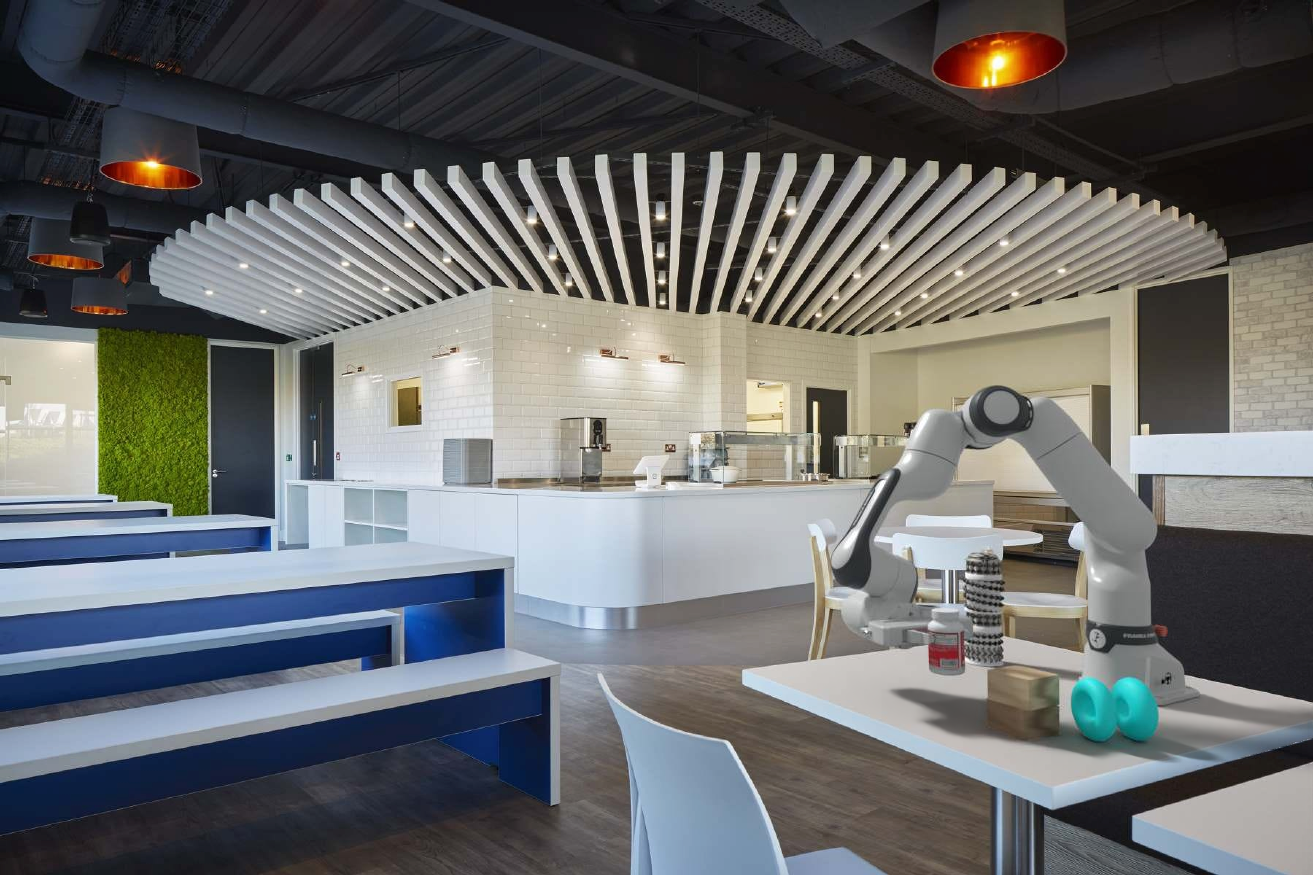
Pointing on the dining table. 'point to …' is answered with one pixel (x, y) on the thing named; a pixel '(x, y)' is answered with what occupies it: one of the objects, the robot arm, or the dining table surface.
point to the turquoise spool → (1114, 709)
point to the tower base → (1023, 721)
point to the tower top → (1023, 687)
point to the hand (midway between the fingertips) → (949, 637)
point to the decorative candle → (984, 609)
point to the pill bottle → (946, 643)
